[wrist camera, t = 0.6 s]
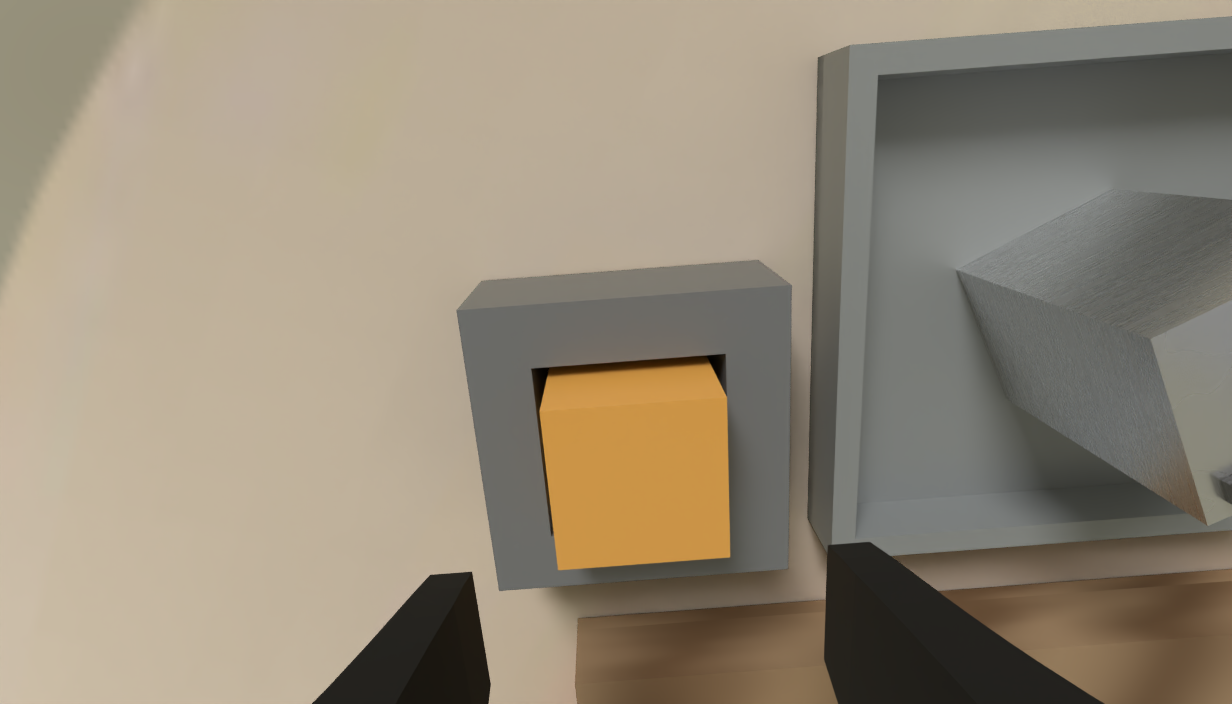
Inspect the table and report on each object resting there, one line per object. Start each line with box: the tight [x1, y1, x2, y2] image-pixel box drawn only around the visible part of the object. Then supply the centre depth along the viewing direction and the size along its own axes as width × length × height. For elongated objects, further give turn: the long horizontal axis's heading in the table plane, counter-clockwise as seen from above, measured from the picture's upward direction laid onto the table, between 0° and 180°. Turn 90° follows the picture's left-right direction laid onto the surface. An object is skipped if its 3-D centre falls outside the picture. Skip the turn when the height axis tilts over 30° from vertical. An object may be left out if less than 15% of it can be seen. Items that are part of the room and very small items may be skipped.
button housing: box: [457, 260, 792, 591], centre depth 16 cm, size 7×7×3 cm
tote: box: [808, 16, 1232, 556], centre depth 16 cm, size 12×12×2 cm
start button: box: [540, 355, 730, 570], centre depth 14 cm, size 4×4×3 cm
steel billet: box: [956, 189, 1232, 526], centre depth 13 cm, size 4×4×6 cm
